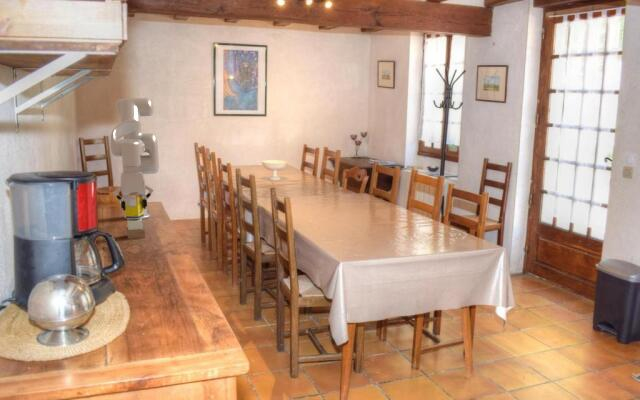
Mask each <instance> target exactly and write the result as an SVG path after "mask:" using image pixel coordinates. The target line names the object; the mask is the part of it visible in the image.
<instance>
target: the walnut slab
mask: <svg viewBox="0 0 640 400" xmlns="http://www.w3.org/2000/svg"><path fill="white" fill-rule="evenodd" d="M126 237H127V239H128V240H130V239H131V240H132V239H135V240H136V239H142V238H143V239H144V238H145V239H146V230H145V227H144V226H143V229H138V230H128V226H127V227H126Z"/></svg>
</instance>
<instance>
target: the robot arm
mask: <svg viewBox="0 0 640 400" xmlns="http://www.w3.org/2000/svg"><path fill="white" fill-rule="evenodd" d="M115 110H116V113H117V115H118V118H119V119H120V122H119V123H118V124H117V125H116V126H115V127H114V128H113V130H112V131H111V133H110V153H111V154H112V156H114V157H118V158H119V157H121V160H122V161H121V163H122V172H121V173H120V186H119V187H118V188H116V189H115V190H113V192H112V194H113V195H114V196H115V198H116V199H118V201H120V207H121V209H122V210H123V211H125V196H128V195H129V194H132V193H139V195H142V196H143V209H144V216H142V217H140V218H142V220H145V219H149V218H150V217H151V213H149V212H147V211H148V209H147V208H148V199H149V198H150V197H151V195H152V194H153V192H154V189H153V188H151V187H150V186H148V185H146V182H145V177H144V176H145V175H154V174H156V173H158V172H159V169H160V161H159V160H160V159H159V145H158V138H157V136H156V134H155V133H151V132H149V133H143V132H142V124H141V119H140V118H141V117H152V116H153V114H154V102H153V101H152V99H151V98H148V97H129V98H121V99H118V100H116V102H115ZM121 138H122V139H121ZM144 153H148V154H144ZM146 190H147V191H148V192H147V191H146ZM118 193H120V194H121V196H120V195H119V194H118ZM123 217H124V219H126V220H127V219H129V218H126V214H125V215H124V216H123Z"/></svg>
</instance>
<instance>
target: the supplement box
mask: <svg viewBox="0 0 640 400" xmlns="http://www.w3.org/2000/svg"><path fill="white" fill-rule="evenodd" d="M124 201H125V213H124V214H125V215H126V218H140V217H142V216H144V209H143V196H142V195H139V193H132V194H129V195H128V196H125V199H124Z"/></svg>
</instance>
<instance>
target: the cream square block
mask: <svg viewBox="0 0 640 400" xmlns="http://www.w3.org/2000/svg"><path fill="white" fill-rule="evenodd" d="M126 220H127V221H126V222H127V227H128V230H138V229H143V227H144V223H143V219H142V218H129V219H126Z"/></svg>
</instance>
